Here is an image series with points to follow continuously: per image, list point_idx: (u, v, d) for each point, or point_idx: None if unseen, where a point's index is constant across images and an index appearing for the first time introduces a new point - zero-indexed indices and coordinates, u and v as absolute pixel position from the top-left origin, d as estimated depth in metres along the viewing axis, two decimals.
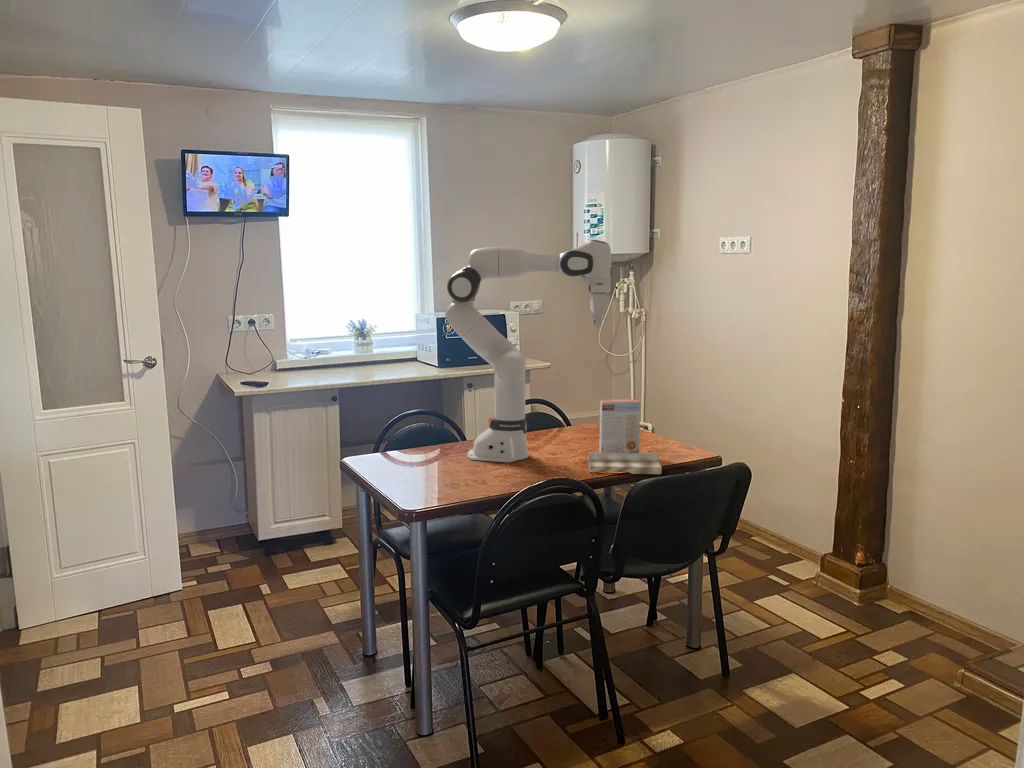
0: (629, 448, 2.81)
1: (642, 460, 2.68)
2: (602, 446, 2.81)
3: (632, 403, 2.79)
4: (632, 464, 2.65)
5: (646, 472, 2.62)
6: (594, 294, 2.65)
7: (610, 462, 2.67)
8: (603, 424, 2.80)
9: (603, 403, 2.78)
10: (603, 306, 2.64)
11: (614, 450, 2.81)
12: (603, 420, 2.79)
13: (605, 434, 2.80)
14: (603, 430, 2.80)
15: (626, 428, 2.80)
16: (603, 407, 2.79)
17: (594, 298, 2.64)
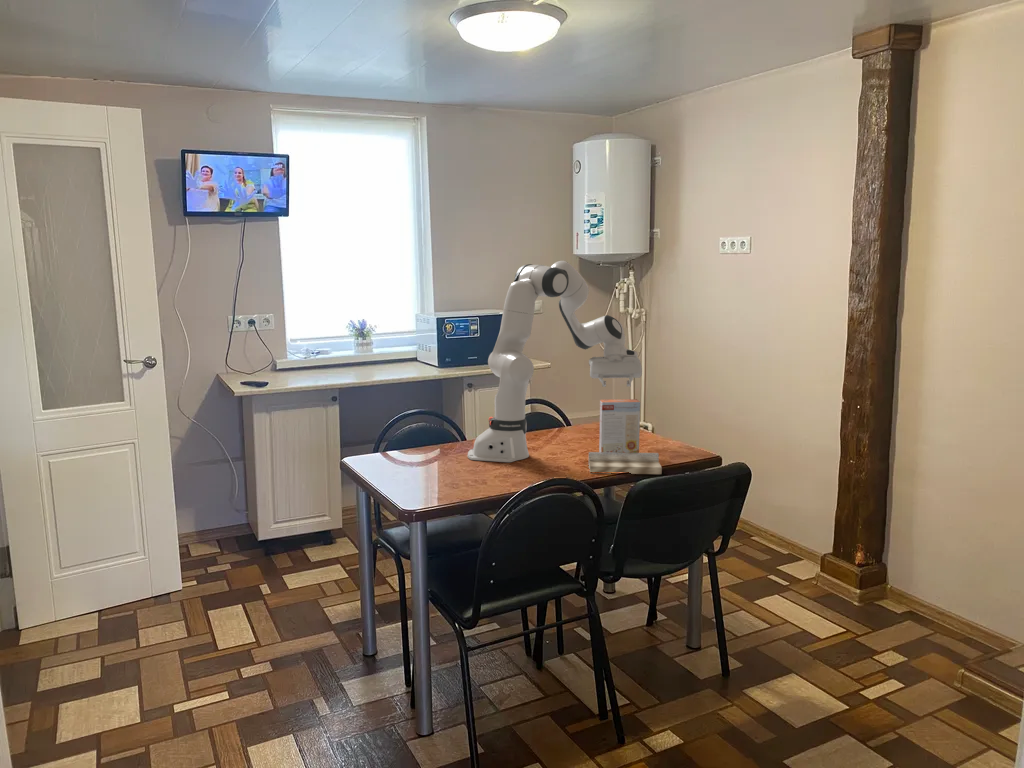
0: (629, 448, 2.81)
1: (642, 460, 2.68)
2: (602, 446, 2.81)
3: (632, 403, 2.79)
4: (632, 464, 2.65)
5: (646, 472, 2.62)
6: None
7: (610, 462, 2.67)
8: (603, 424, 2.80)
9: (603, 403, 2.78)
10: None
11: (614, 450, 2.81)
12: (603, 420, 2.79)
13: (605, 434, 2.80)
14: (603, 430, 2.80)
15: (626, 428, 2.80)
16: (603, 407, 2.79)
17: (639, 360, 3.02)
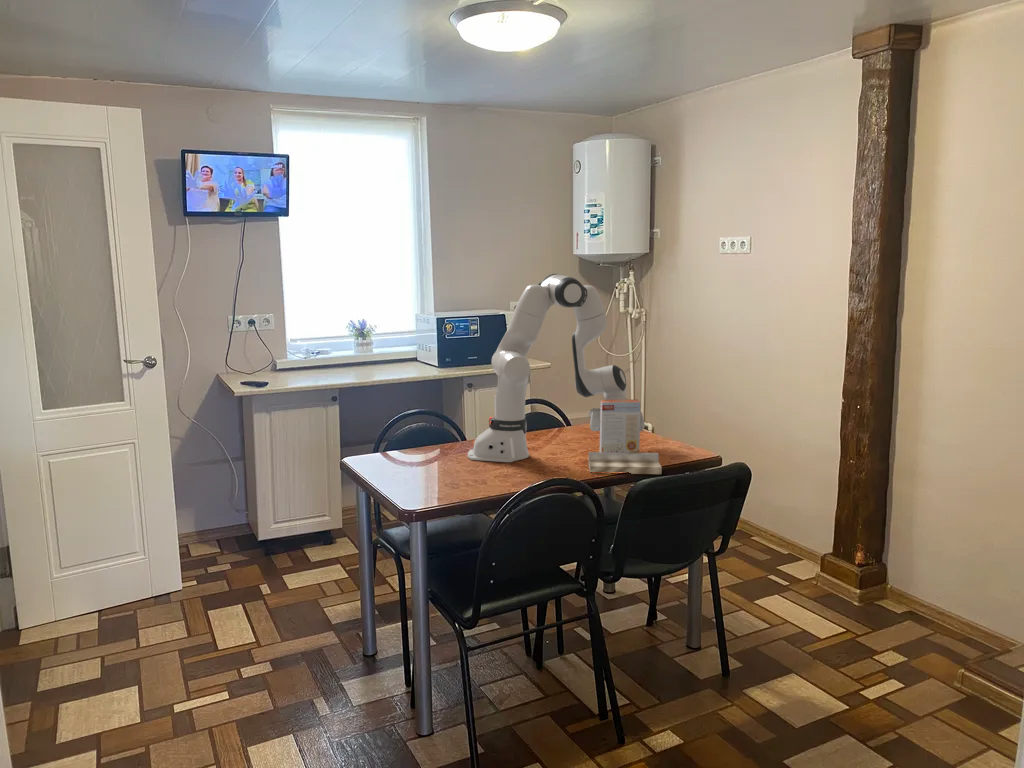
0: (629, 448, 2.81)
1: (642, 460, 2.68)
2: (602, 446, 2.81)
3: (632, 403, 2.78)
4: (632, 464, 2.65)
5: (646, 472, 2.62)
6: None
7: (610, 462, 2.67)
8: (603, 424, 2.79)
9: (603, 403, 2.78)
10: None
11: (614, 450, 2.81)
12: (603, 420, 2.79)
13: (605, 434, 2.80)
14: (603, 430, 2.80)
15: (626, 428, 2.80)
16: (603, 407, 2.78)
17: (642, 414, 2.91)
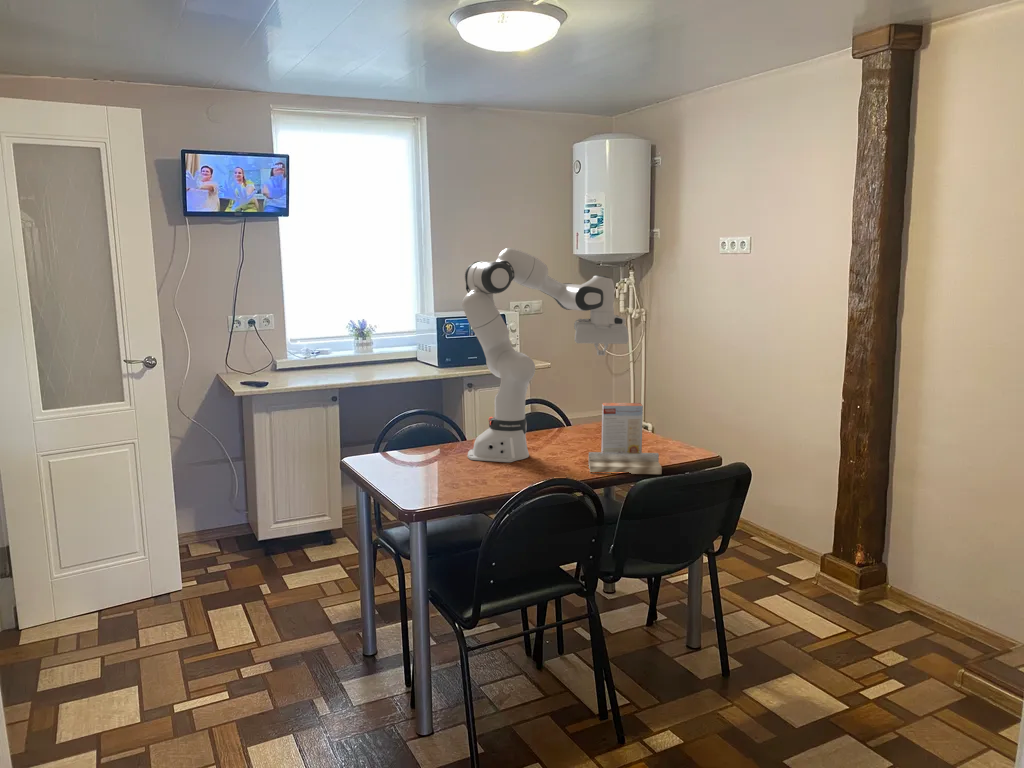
0: None
1: (642, 460, 2.68)
2: (603, 450, 2.75)
3: (634, 407, 2.72)
4: (632, 464, 2.65)
5: (646, 472, 2.62)
6: None
7: (610, 462, 2.67)
8: (604, 428, 2.73)
9: (604, 407, 2.72)
10: None
11: None
12: (604, 424, 2.73)
13: (606, 438, 2.74)
14: (604, 434, 2.74)
15: (628, 432, 2.73)
16: (604, 411, 2.72)
17: (627, 329, 2.91)
